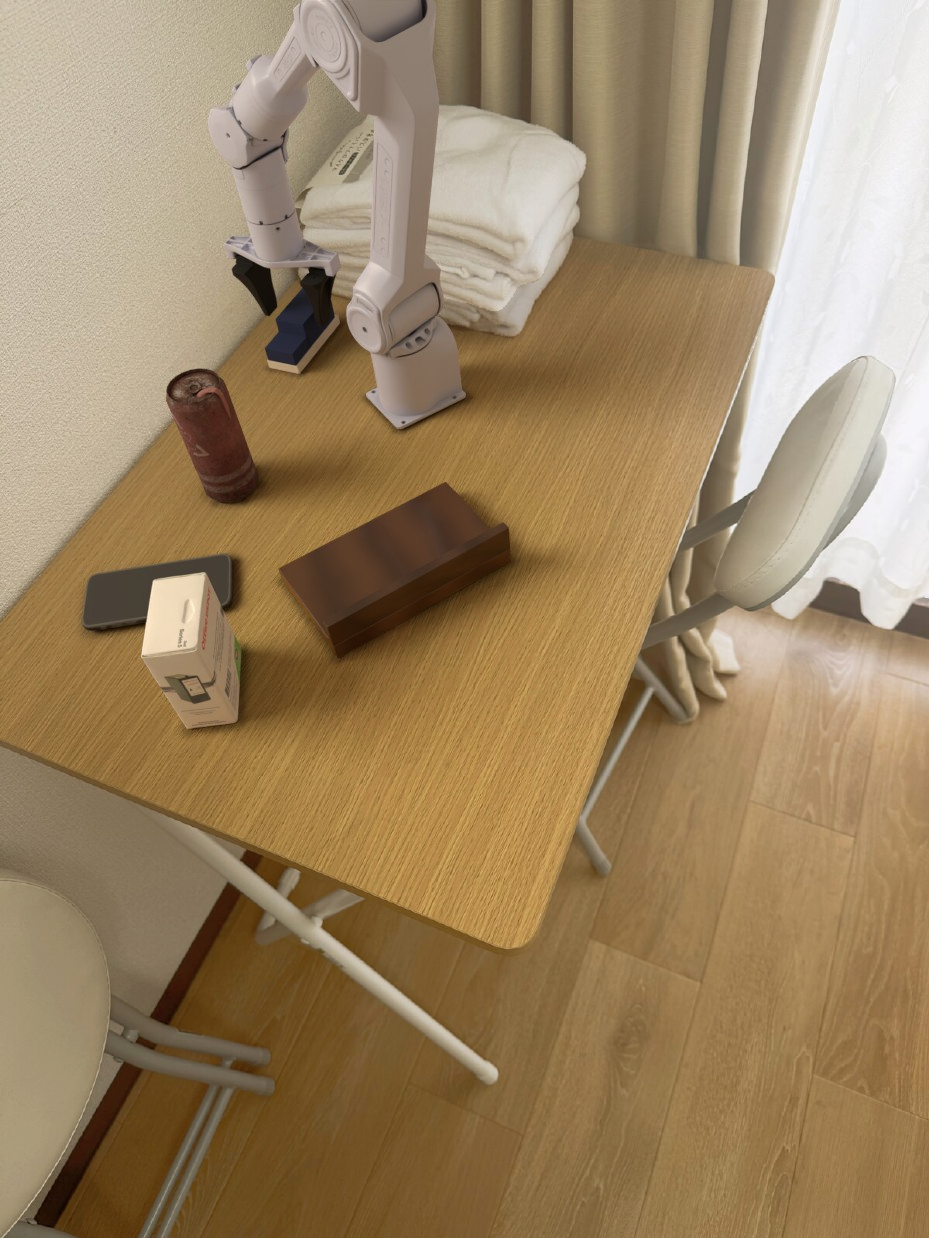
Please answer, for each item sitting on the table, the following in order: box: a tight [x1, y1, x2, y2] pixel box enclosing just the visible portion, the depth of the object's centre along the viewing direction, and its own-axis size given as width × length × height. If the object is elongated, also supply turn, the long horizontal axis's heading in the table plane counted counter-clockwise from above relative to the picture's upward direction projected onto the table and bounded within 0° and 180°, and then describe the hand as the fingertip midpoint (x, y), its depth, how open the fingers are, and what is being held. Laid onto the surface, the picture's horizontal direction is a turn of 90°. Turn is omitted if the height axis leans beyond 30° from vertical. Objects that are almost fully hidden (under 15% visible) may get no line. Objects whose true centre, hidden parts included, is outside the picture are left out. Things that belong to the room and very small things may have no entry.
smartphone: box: [81, 553, 234, 632], centre depth 93 cm, size 7×1×15 cm
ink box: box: [140, 573, 243, 730], centre depth 81 cm, size 9×5×12 cm, turn 5°
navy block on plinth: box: [264, 287, 341, 375], centre depth 115 cm, size 11×4×5 cm, turn 157°
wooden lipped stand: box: [277, 481, 512, 659], centre depth 90 cm, size 20×12×5 cm, turn 123°
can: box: [165, 367, 259, 504], centre depth 97 cm, size 6×6×14 cm
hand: (297, 316), depth 114 cm, fingers open, 7 cm apart
